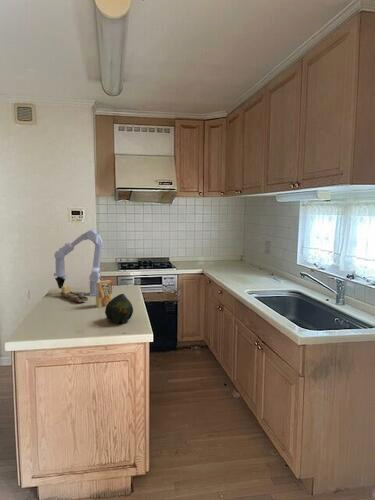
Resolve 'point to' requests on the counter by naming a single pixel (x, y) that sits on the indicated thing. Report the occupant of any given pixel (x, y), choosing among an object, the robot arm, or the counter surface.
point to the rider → (66, 289)
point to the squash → (119, 309)
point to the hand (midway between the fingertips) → (60, 288)
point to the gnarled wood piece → (75, 296)
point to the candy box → (103, 293)
